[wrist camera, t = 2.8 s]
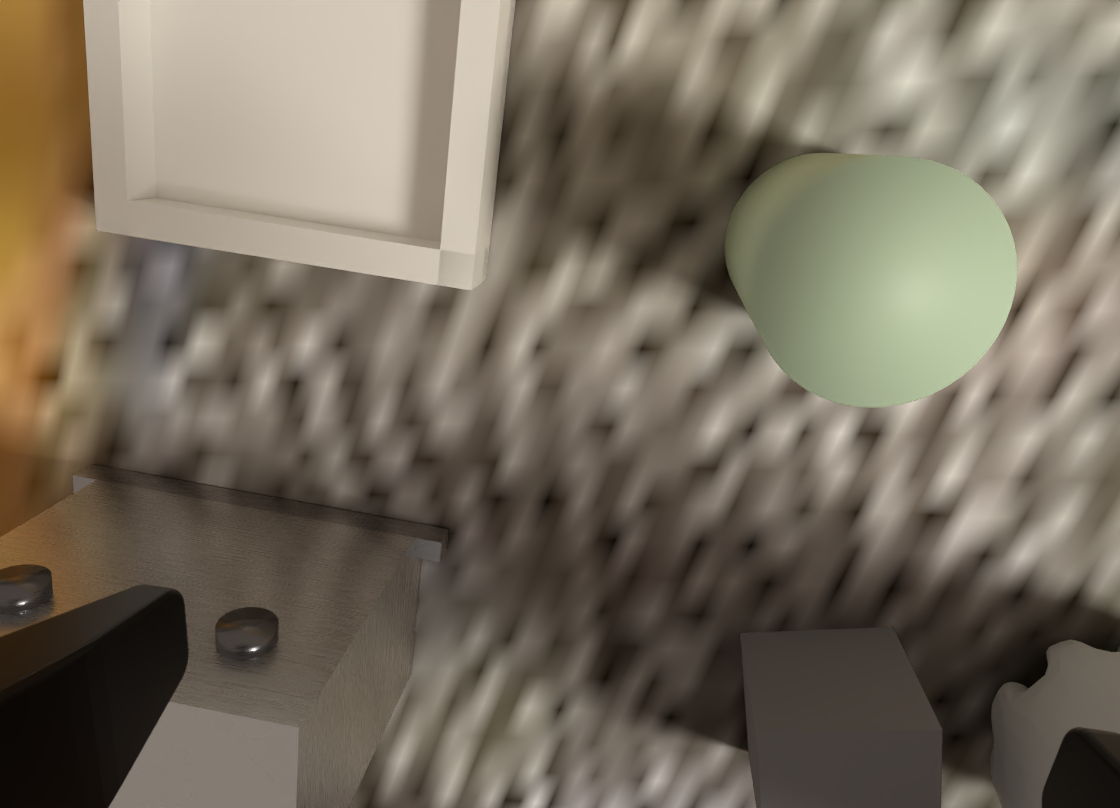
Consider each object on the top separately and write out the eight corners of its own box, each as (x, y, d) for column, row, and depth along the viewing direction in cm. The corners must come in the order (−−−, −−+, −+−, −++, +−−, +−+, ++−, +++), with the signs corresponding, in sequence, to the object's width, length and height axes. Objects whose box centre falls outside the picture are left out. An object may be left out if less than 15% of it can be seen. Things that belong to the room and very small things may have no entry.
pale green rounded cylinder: (925, 166, 17) (1053, 177, 12) (876, 340, 19) (971, 426, 13) (744, 140, 18) (784, 139, 12) (709, 314, 19) (730, 385, 13)
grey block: (891, 624, 21) (942, 730, 17) (892, 746, 22) (939, 870, 18) (739, 630, 22) (756, 733, 18) (747, 749, 23) (765, 869, 19)
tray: (525, -94, 17) (512, -117, 15) (486, 278, 19) (471, 290, 18) (124, -143, 17) (73, -171, 16) (138, 224, 20) (96, 231, 18)
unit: (450, 515, 21) (337, 717, 14) (433, 686, 23) (325, 946, 16) (91, 451, 22) (-202, 609, 15) (102, 621, 24) (-153, 840, 16)
